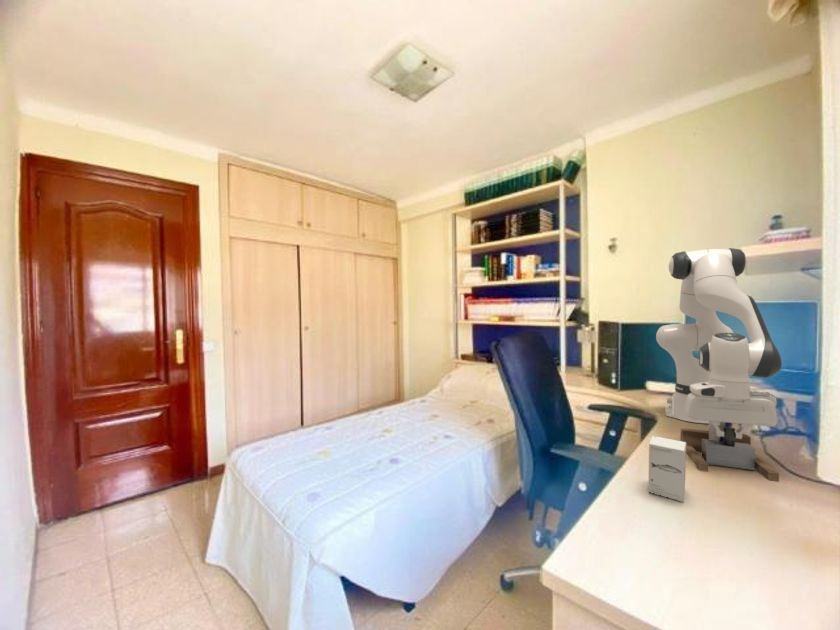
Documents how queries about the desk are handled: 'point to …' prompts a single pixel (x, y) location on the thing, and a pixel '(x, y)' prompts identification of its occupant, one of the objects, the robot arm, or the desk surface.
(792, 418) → the desk surface
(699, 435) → the vise frame
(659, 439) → the supplement box
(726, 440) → the sliding jaw
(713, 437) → the energy drink
